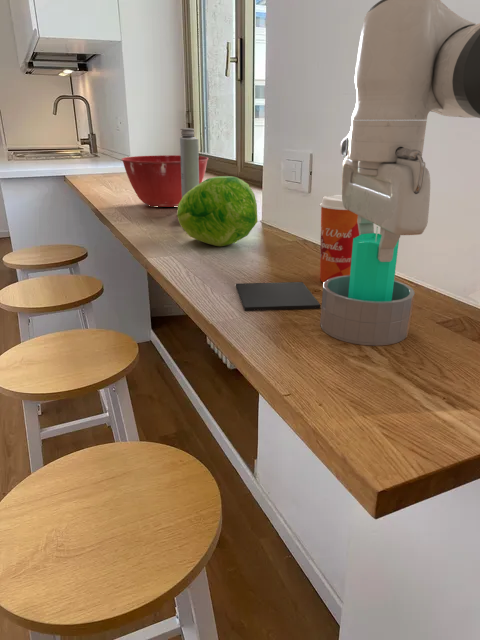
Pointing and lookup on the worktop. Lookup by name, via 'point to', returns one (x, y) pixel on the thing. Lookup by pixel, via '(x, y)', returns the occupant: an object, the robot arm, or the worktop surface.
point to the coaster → (276, 296)
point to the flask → (189, 160)
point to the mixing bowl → (158, 178)
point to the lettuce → (218, 211)
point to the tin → (365, 314)
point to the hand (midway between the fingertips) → (374, 254)
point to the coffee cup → (336, 237)
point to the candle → (371, 270)
